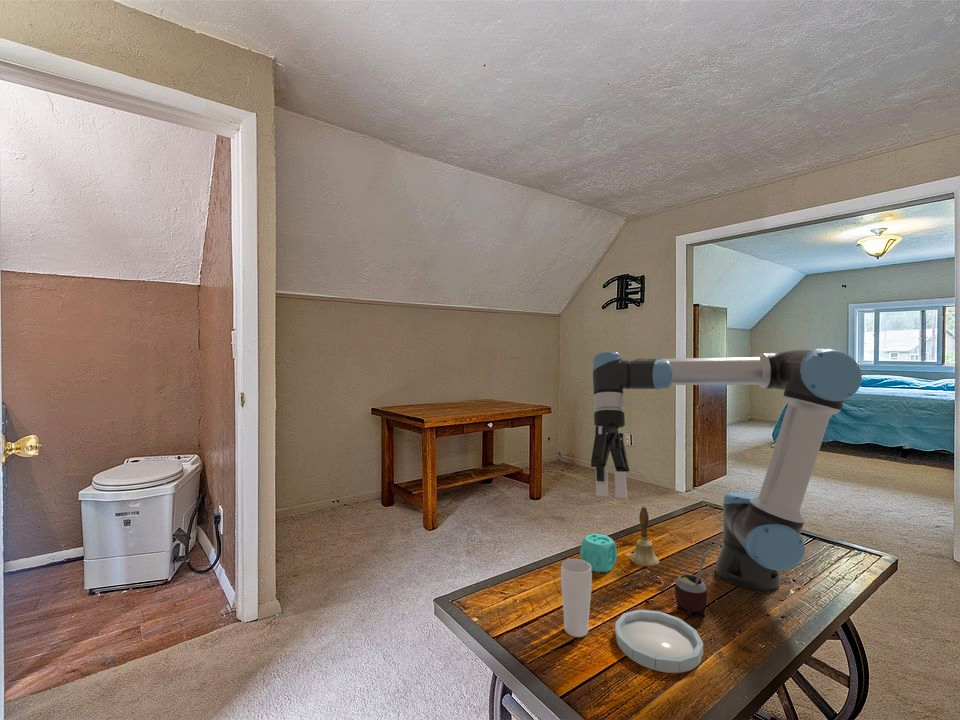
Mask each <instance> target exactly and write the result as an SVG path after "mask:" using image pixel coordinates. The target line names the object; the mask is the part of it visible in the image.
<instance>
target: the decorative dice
mask: <svg viewBox="0 0 960 720" xmlns="http://www.w3.org/2000/svg"><path fill="white" fill-rule="evenodd" d="M579 556H580V558H579V559H580V560H584V561H586V562H588V563H589V564H590V565H591V567H592V572H594V571H595V573H600V572H604V573H608V571H609V572H610V570H611V571H612V570H613V568H614V567H615V565H616V562H617V558H618V549H617V544H616V542H615V541H614V539H612V538H611V537H609V536H608V535H605V534H601V533H589V534H588V535H586V536H584V538H583V539H582V541H581V544H580V550H579Z"/></svg>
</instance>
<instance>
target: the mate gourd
mask: <svg viewBox="0 0 960 720" xmlns="http://www.w3.org/2000/svg"><path fill="white" fill-rule="evenodd" d="M712 550H713V548H712V547H710V548H709V549H708V550H707V551H705V553H704V555H703V556H702V557H701V560H700V564H699V568H698V572H697V575H693V574H682V575H680V576H679V577H677V578H676V581H675V584H674V595H675V600H676V604H677V605H676V609H677V610H679V611H681V612H685V613H687V614H686V619H688V620H691V618H692V617H693V615H694V616H699V617H701V618H705V617H706V614H705V611H706V610H707V606H708V595H709V594H708V590H707V586H706V584H705V583H704V581H703V579H701V578H700V577H701V574H702V570H703V566H704V564H705V562H706V558H707V556H708V555H709V554H710V553H711V551H712Z"/></svg>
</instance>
